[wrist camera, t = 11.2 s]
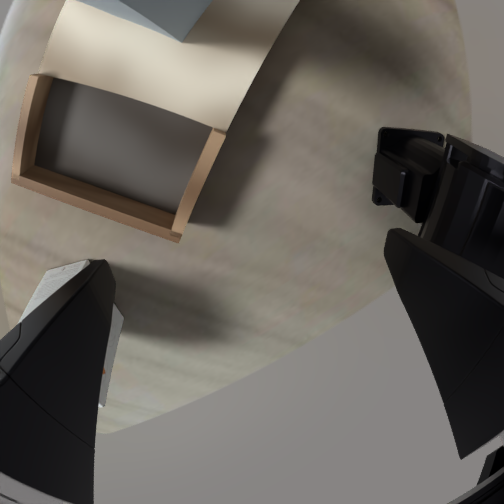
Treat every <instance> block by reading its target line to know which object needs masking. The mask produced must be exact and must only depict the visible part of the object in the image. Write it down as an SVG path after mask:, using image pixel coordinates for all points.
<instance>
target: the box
mask: <svg viewBox="0 0 504 504" xmlns="http://www.w3.org/2000/svg"><path fill="white" fill-rule="evenodd" d="M299 1H300V0H213V1H212V2H211V3H210V5H209V6H208V7H207V9H206V10H205V11H204V12H203V14H202V15H201V16H200V18H199V19H198V21H197V22H196V23H195V25H194V26H193V28H192V29H191V30H190V32H189V33H188V35H187V36H186V38H185V39H184V41H183V42H182V43H181V42H179V41H176V40H174V39H172V38H170V37H167V36H165V35H163V34H160V33H158V32H156V31H153V30H151V29H148V28H146V27H143V26H141V25H138V24H136V23H133V22H130V21H128V20H125V19H122V18H119V17H116V16H114V15H111V14H109V13H107V12H104V11H102V10H99V9H97V8H95V7H92V6H90V5H87V4H84V3H82V2H79V1H76V0H66V2H65V4H64V6H63V8H62V11H61V13H60V15H59V17H58V19H57V22H56V24H55V27H54V29H53V31H52V34H51V37H50V39H49V42H48V44H47V47H46V50H45V53H44V56H43V59H42V62H41V65H40V68H39V71H38V74H33V75H30V76H29V80H28V83H27V87H26V91H25V95H24V99H23V104H22V108H21V113H20V118H19V124H18V129H17V135H16V142H15V149H14V157H13V166H12V177H11V183H13V184H16V185H19V186H21V187H24V188H27V189H29V190H32V191H35V192H37V193H40V194H43V195H45V196H48V197H51V198H53V199H56V200H59V201H61V202H64V203H67V204H70V205H72V206H75V207H78V208H81V209H83V210H86V211H89V212H92V213H94V214H97V215H100V216H103V217H105V218H108V219H111V220H114V221H117V222H119V223H122V224H125V225H128V226H131V227H133V228H136V229H139V230H142V231H145V232H147V233H150V234H153V235H156V236H159V237H162V238H165V239H167V240H170V241H173V242H176V243H179V241H180V239H181V236H182V234H183V231H184V229H185V227H186V224H187V222H188V219H189V217H190V215H191V212H192V210H193V208H194V205H195V203H196V201H197V198H198V196H199V194H200V191H201V189H202V187H203V185H204V182H205V180H206V178H207V176H208V174H209V171H210V169H211V167H212V165H213V163H214V161H215V159H216V156H217V154H218V152H219V150H220V148H221V146H222V144H223V142H224V140H225V138H226V132H227V130H228V128H229V126H230V124H231V122H232V120H233V118H234V116H235V114H236V112H237V110H238V108H239V106H240V104H241V102H242V100H243V98H244V96H245V94H246V92H247V90H248V89H249V87H250V85H251V83H252V81H253V79H254V77H255V76H256V74H257V72H258V70H259V68H260V66H261V65H262V63H263V61H264V59H265V57H266V56H267V54H268V52H269V50H270V49H271V47H272V45H273V44H274V42H275V40H276V38H277V37H278V35H279V33H280V32H281V30H282V28H283V27H284V25H285V23H286V22H287V20H288V18H289V17H290V15H291V14H292V12H293V10H294V9H295V7H296V6H297V4H298V2H299Z"/></svg>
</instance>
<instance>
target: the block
mask: <svg viewBox="0 0 504 504" xmlns="http://www.w3.org/2000/svg"><path fill="white" fill-rule="evenodd" d="M76 1H79V2H82V3H84V4H87V5H90V6H92V7H95V8H97V9H99V10H102V11H104V12H107V13H109V14H111V15H114V16H116V17H119V18H122V19H125V20H128V21H130V22H133V23H136V24H138V25H141V26H143V27H146V28H148V29H151V30H153V31H156V32H158V33H160V34H163V35H165V36H167V37H170V38H172V39H174V40H176V41H179V42H181V43H182V42H183V41H184V39H185V38H186V36H187V35H188V33H189V32H190V30H191V29H192V28H193V26H194V25H195V23H196V22H197V21H198V19H199V18H200V16H201V15H202V14H203V12H204V11H205V10H206V9H207V7H208V6H209V5H210V3H211V2H212V1H213V0H76Z"/></svg>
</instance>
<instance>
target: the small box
mask: <svg viewBox="0 0 504 504" xmlns="http://www.w3.org/2000/svg"><path fill="white" fill-rule="evenodd" d="M89 264H90V262H89V260H84V261H80V262H76V263H73V264H69V265H65V266H62V267H58V268H54V269H51V270H47V272H46V273H45V275H44V277H43V278H42V280H41V282H40V283H39V285H38V287H37V289H36V290H35V292H34V294H33V296H32V298H31V299H30V301H29V303H28V305H27V307H26V309H25V311H24V313H23V315H22V317H21V319H20V321H19V322H22V320H23V319H24V318H25V317H26V316H27V315H28V314H30V313H31V312H32V311H33V310H34V309H35V308H36V307H38V306H39V305H40V304H41V303H42V302H43V301H45V300H46V299H47V298H48V297H49V296H50V295H52V294H53V293H54V292H55V291H56V290H58V289H59V288H60V287H61V286H62V285H64V284H65V283H66V282H67V281H69V280H70V279H71V278H72V277H74V276H75V275H76V274H77V273H79V272H80V271H81V270H82V269H84V268H85V267H86V266H88V265H89ZM123 321H124V318H123V316H122V315H121V313H120V312H119V310H118V309H117V307H116V305H115V304H113V313H112V323H111V330H110V335H109V340H108V346H107V351H106V357H105V363H104V369H103V375H102V382H101V389H100V397H99V405H98V407H104V406H105V403H106V397H107V392H108V387H109V382H110V377H111V372H112V367H113V363H114V358H115V354H116V349H117V345H118V341H119V337H120V332H121V329H122V325H123Z"/></svg>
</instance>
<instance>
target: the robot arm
mask: <svg viewBox="0 0 504 504" xmlns="http://www.w3.org/2000/svg"><path fill="white" fill-rule="evenodd" d="M385 131H386V132H387V134H386V136H384V135H383V134H384V132H385ZM438 137H439V139H438ZM443 142H444V136H443V135H442V134H441V133H438V132H433V131H424V130H415V129H404V128H391V127H382V128H380V130H379V132H378V144H377V153H376V155H375V161H374V172H373V181H372V184H373V185H374V186H373V194H372V201H373V203H374V204H376V205H378V206H379V205H395V206H396V207H397V208H401V209H402V210H403V211H404V212H405V213H406V214H407V215H408V216H409V217H410V218H411V219H412V220H413V221H414V222H415V223H422V226H421V229H420V232H419V234H418V236H417V235H415V234H412V233H410V232H408V231H406V230H403V229H401V228H395V229H390V230H389V231H388V233H387V238H386V242H385V247H384V257H385V260H386V263H387V265H388V268H389V270H390V273H391V275H392V278H393V281H394V283H395V286H396V289H397V291H398V294H399V296H400V298H401V301H402V303H403V305H404V307H405V309H406V311H407V313H408V315H409V318H410V320H411V322H412V324H413V327H414V329H415V331H416V333H417V336H418V338H419V340H420V342H421V345H422V348H423V350H424V352H425V355H426V357H427V360H428V362H429V365H430V367H431V370H432V373H433V375H434V378H435V380H436V383H437V386H438V389H439V391H440V394H441V397H442V400H443V403H444V407H445V410H446V413H447V416H448V419H449V422H450V425H451V429H452V432H453V436H454V439H455V442H456V446H457V450H458V454H459V457H460V459H463V458H465V457H466V456H468V455H470V454H472V453H473V452H475V451H476V450H478V449H480V448H481V447H483V446H484V445H486V444H487V443H489V442H490V441H492V440H493V439H495V438H496V437H498V436H500V439H501V441H502V444H503V445H502V446H501V447H499V448H498V449H496V450H495V451H494V452H492V453H491V454H489V455H488V456H487V458H486V460H485V464H484V467H483V469H482V472H481V475H480V478H479V481H478V483H477V486H476V487H474V488H473V489H471V490H470V491H468V492H466V493H465V494H463V495H462V496H460V497H458V498H456V499H455V500H453V501H451V502H449V503H448V504H504V157H502V156H500V155H498V154H496V153H494V152H492V151H490V150H488V149H486V148H483V147H481V146H479V145H476V144H474V143H471V142H469V141H466V140H463V139H461V138H458V137H455V136H453V135H450V134H447V137H446V142H447V143H446V147H445V148H443ZM379 197H380V199H379V200H378V201H377V198H379ZM115 288H116V283H115V279H114V277H113V274H112V272H111V269H110V267H109V264H108V262H107V261H106V260H105V259H102V260H95V261H93V262H91V263H90V264H89V265H88V266H86V267H85V268H84V269H82V270H81V271H80V272H79V273H77V274H76V275H75V276H74V277H72V278H71V279H70V280H69V281H67V282H66V283H65V284H64V285H62V286H61V287H60V288H59V289H58V290H56V291H55V292H54V293H53V294H52V295H50V296H49V297H48V298H47V299H46V300H45V301H43V302H42V303H41V304H40V305H39V306H38V307H36V308H35V309H34V310H33V311H32V312H31V313H30V314H28V315H27V316H26V317H25V318H24V319H23V320H22V322H19V323H18V324H17V325H16V326H15V327H14V328H13V329H12V330H11V331H10V332H8V333H7V334H6V335H5V336H4V337H3V338H2V339H1V340H0V504H63V502H67V503H69V504H94V501H93V499H94V498H93V497H94V494H93V491H94V489H93V488H94V486H93V485H94V453H95V449H94V448H95V436H96V424H97V414H98V405H99V397H100V389H101V382H102V375H103V369H104V363H105V357H106V351H107V346H108V340H109V335H110V330H111V323H112V313H113V304H114V296H115Z"/></svg>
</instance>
